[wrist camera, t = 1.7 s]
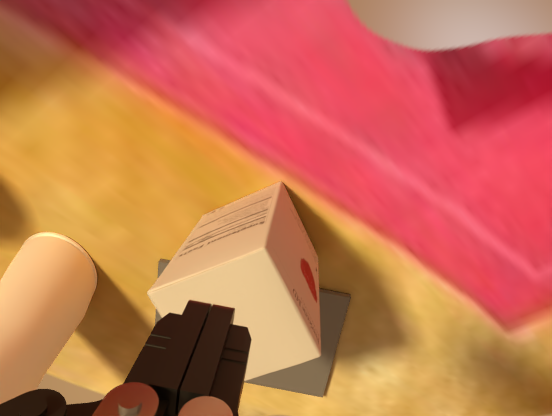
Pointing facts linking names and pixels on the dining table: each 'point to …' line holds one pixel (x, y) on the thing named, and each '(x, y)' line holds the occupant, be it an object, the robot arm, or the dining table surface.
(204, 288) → the supplement box
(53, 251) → the white bottle
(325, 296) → the mat
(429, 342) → the dining table surface
